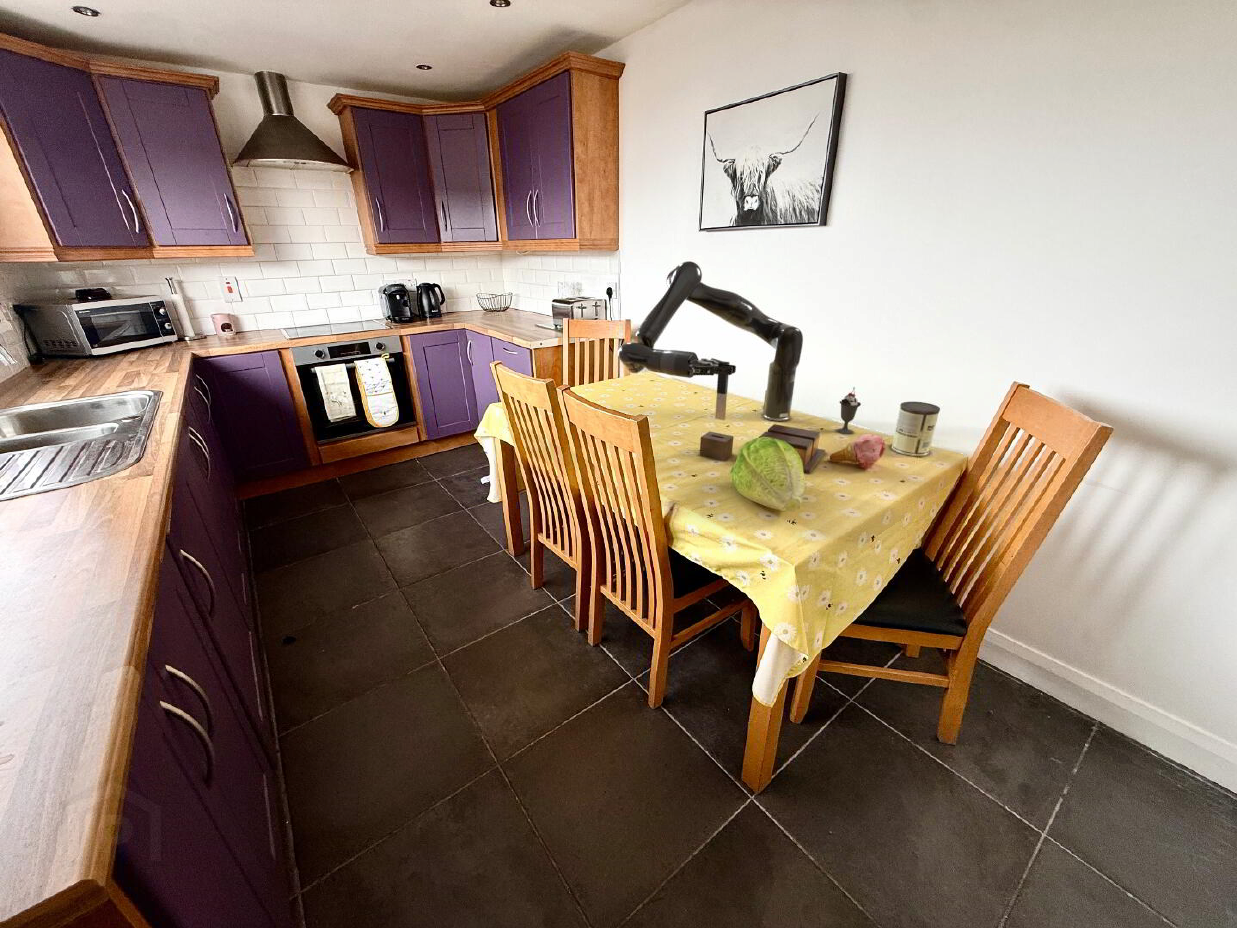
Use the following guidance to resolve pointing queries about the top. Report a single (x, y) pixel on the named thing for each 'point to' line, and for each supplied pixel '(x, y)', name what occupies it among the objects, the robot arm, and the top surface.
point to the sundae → (848, 411)
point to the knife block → (716, 445)
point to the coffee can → (915, 428)
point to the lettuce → (770, 474)
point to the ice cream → (862, 451)
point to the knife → (721, 393)
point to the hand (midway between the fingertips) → (733, 370)
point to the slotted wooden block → (799, 443)
